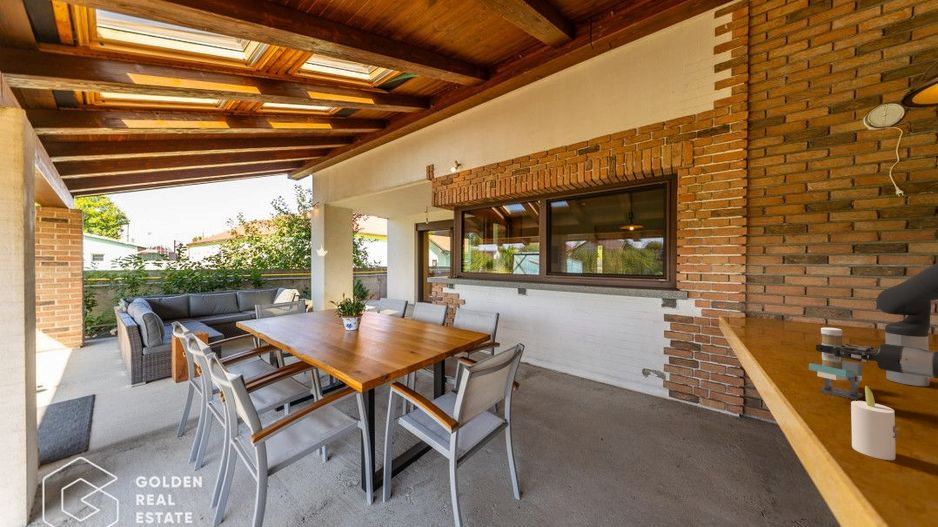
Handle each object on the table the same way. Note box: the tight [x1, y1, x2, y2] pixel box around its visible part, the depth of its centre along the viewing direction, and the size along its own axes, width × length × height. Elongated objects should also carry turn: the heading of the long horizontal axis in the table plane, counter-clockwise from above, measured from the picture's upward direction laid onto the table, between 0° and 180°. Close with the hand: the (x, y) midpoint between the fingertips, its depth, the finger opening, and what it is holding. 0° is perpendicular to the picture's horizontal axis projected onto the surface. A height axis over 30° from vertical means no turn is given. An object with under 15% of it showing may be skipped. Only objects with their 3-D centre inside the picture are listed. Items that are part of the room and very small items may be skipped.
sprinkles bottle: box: [820, 326, 844, 369], centre depth 103 cm, size 5×5×14 cm
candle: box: [850, 385, 898, 461], centre depth 75 cm, size 6×6×15 cm
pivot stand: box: [819, 373, 864, 401], centre depth 107 cm, size 6×8×8 cm
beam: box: [808, 360, 864, 382], centre depth 107 cm, size 26×8×6 cm, turn 118°
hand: (819, 346), depth 105 cm, fingers closed on sprinkles bottle, 4 cm apart
